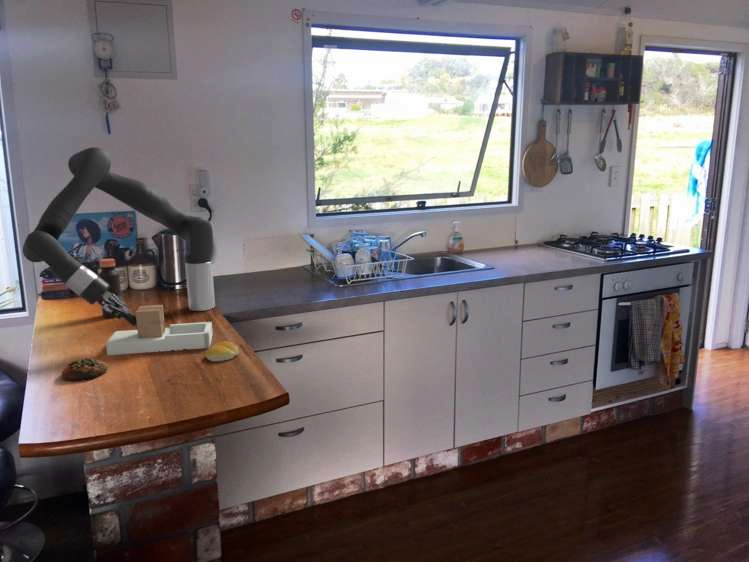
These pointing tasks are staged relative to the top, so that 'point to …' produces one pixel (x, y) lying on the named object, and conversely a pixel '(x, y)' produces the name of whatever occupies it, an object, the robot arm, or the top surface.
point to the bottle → (110, 279)
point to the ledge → (135, 343)
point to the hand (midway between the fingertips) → (137, 323)
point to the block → (150, 321)
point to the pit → (189, 336)
